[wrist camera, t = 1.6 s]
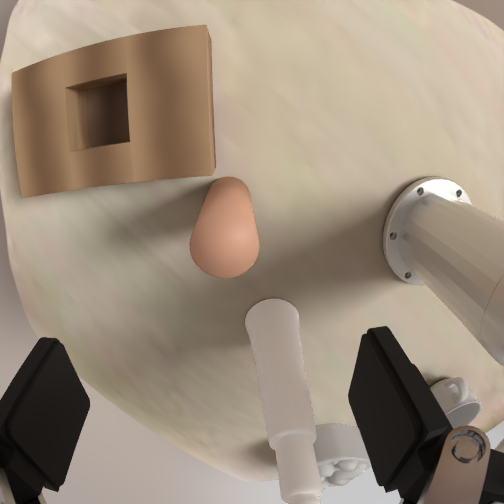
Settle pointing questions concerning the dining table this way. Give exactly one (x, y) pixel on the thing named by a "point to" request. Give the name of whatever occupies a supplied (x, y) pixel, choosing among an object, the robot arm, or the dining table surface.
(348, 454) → the lumpy-topped squat cylinder
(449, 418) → the teacup
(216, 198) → the peg
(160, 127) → the socket board
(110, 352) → the dining table surface
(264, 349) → the cosmetic bottle
